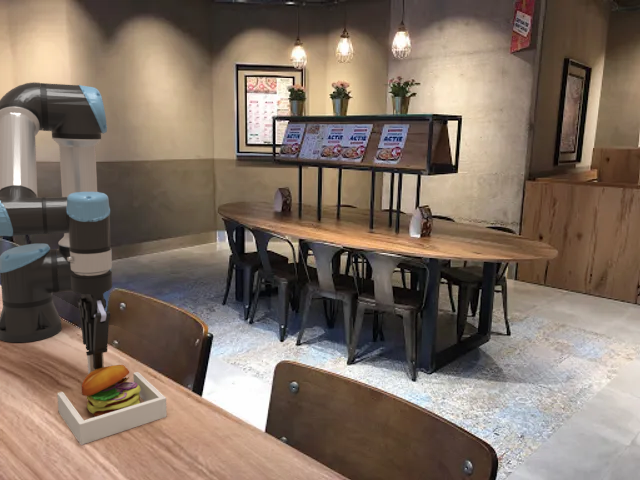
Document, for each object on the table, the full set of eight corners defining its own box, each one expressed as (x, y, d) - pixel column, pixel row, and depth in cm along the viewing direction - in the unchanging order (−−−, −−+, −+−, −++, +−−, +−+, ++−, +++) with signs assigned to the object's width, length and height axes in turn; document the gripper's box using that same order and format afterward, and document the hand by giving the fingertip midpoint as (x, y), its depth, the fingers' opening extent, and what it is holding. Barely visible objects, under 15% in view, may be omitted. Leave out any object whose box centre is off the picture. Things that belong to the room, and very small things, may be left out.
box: (58, 411, 104) (57, 393, 103) (138, 388, 114) (137, 371, 114) (80, 445, 94) (79, 424, 93) (166, 416, 104) (166, 398, 103)
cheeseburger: (122, 426, 100) (109, 377, 98) (77, 428, 103) (63, 380, 102) (153, 400, 109) (142, 355, 108) (111, 403, 113) (99, 359, 111)
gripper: (61, 266, 108) (67, 373, 112) (81, 281, 98) (87, 398, 103) (99, 261, 112) (104, 365, 117) (122, 275, 103) (126, 387, 108)
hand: (96, 380), depth 110 cm, fingers closed
